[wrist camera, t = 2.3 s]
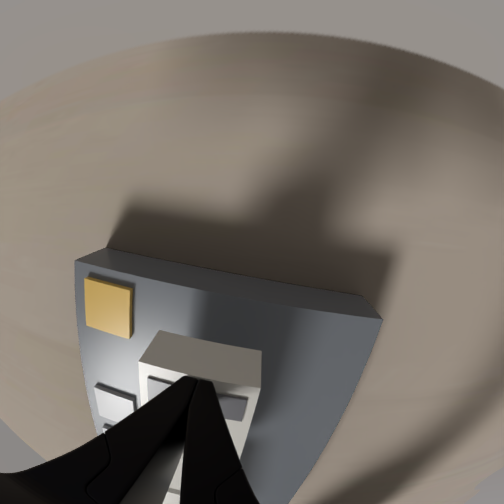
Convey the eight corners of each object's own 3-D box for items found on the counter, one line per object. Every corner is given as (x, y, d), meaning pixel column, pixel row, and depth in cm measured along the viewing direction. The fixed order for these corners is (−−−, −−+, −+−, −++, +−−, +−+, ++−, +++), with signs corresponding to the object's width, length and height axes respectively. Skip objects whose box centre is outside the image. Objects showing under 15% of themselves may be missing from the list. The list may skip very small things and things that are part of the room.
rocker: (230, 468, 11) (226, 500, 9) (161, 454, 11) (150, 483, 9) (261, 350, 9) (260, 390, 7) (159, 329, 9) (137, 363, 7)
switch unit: (276, 492, 18) (277, 526, 14) (124, 461, 18) (110, 492, 14) (362, 295, 14) (391, 329, 10) (105, 247, 14) (62, 265, 10)
